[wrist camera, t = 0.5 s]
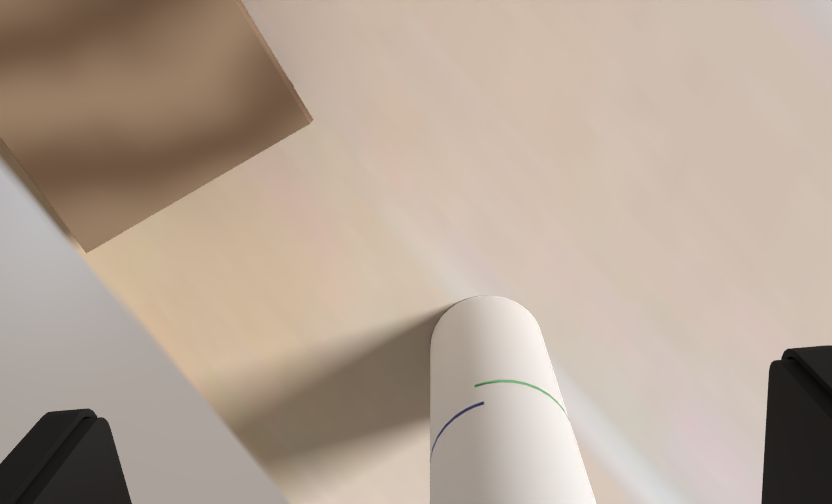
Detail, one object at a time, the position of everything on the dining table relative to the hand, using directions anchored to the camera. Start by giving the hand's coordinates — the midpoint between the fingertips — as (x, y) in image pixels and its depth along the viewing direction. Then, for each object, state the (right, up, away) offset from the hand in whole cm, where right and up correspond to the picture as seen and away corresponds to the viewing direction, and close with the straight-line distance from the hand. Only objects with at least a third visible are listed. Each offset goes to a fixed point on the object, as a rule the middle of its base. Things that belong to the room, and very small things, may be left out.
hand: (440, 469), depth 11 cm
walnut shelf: (-17, +16, +31) cm, 39 cm away
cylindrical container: (+4, -3, +38) cm, 38 cm away
